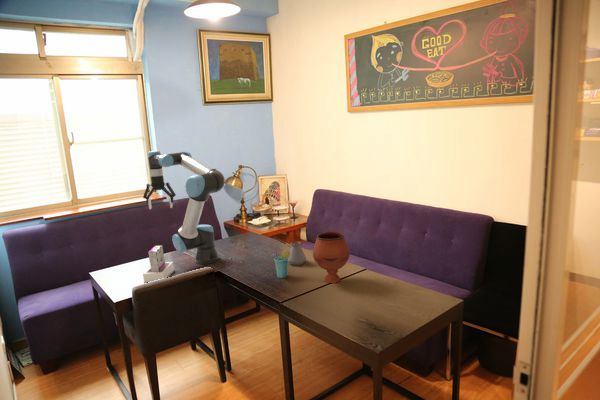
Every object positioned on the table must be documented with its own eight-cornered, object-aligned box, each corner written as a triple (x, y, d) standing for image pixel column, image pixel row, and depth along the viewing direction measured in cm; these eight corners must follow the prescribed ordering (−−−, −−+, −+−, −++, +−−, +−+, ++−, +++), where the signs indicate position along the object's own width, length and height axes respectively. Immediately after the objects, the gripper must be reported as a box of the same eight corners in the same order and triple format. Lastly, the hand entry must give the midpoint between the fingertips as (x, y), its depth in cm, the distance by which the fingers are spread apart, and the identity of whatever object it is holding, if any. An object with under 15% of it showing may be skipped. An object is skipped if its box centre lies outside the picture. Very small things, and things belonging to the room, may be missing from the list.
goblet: (348, 272, 226) (346, 229, 221) (352, 286, 208) (350, 239, 203) (314, 274, 227) (311, 230, 222) (314, 288, 208) (311, 241, 203)
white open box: (174, 270, 246) (173, 261, 245) (164, 281, 229) (162, 272, 228) (155, 271, 247) (154, 262, 246) (144, 282, 230) (142, 273, 229)
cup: (277, 282, 218) (275, 256, 215) (267, 279, 223) (265, 253, 220) (294, 274, 229) (292, 248, 226) (284, 271, 234) (282, 246, 231)
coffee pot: (309, 261, 248) (308, 237, 245) (300, 267, 238) (298, 243, 235) (280, 257, 259) (278, 234, 256) (270, 263, 249) (268, 239, 246)
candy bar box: (158, 271, 244) (154, 245, 240) (166, 271, 244) (162, 245, 240) (151, 279, 233) (147, 251, 229) (160, 278, 233) (156, 251, 229)
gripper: (178, 173, 261) (182, 205, 265) (139, 175, 261) (143, 208, 265) (174, 175, 254) (178, 208, 258) (134, 177, 254) (139, 210, 258)
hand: (161, 208), depth 262 cm, fingers open, 13 cm apart
